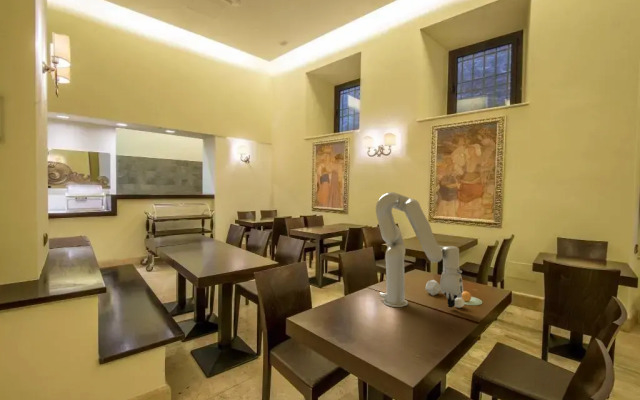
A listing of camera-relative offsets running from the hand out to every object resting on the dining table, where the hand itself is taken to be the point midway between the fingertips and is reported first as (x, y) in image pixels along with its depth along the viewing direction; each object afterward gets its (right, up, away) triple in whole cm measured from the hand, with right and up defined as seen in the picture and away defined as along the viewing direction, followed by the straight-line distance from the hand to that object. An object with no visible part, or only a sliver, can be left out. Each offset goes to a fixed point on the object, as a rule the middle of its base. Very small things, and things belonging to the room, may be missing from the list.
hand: (451, 306), depth 153 cm
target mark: (+15, -1, +12) cm, 19 cm away
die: (0, -1, +24) cm, 24 cm away
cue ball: (+5, +1, +3) cm, 6 cm away
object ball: (+13, +2, +11) cm, 17 cm away
